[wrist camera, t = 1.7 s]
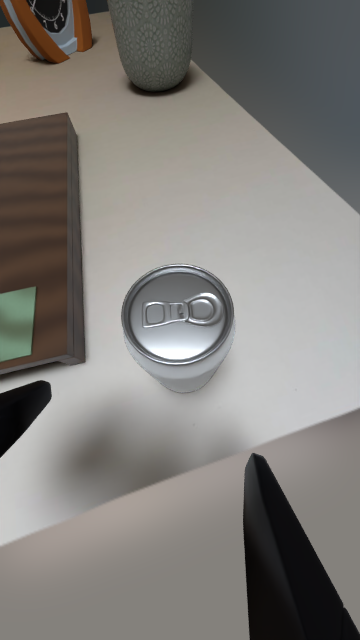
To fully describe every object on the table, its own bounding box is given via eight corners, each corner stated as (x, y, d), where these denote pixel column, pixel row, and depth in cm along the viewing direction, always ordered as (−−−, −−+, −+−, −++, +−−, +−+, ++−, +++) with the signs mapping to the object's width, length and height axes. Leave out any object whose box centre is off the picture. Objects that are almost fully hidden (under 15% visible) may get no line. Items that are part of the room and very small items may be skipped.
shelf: (85, 362, 21) (65, 353, 18) (-50, 394, 20) (-97, 391, 17) (76, 135, 40) (66, 110, 37) (7, 148, 40) (-10, 123, 36)
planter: (151, 65, 54) (137, -56, 40) (205, 75, 49) (211, -57, 35) (110, 90, 48) (78, -39, 34) (167, 105, 44) (157, -37, 30)
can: (219, 390, 19) (257, 368, 8) (154, 396, 20) (108, 381, 9) (210, 329, 22) (229, 252, 11) (152, 334, 22) (115, 263, 11)
